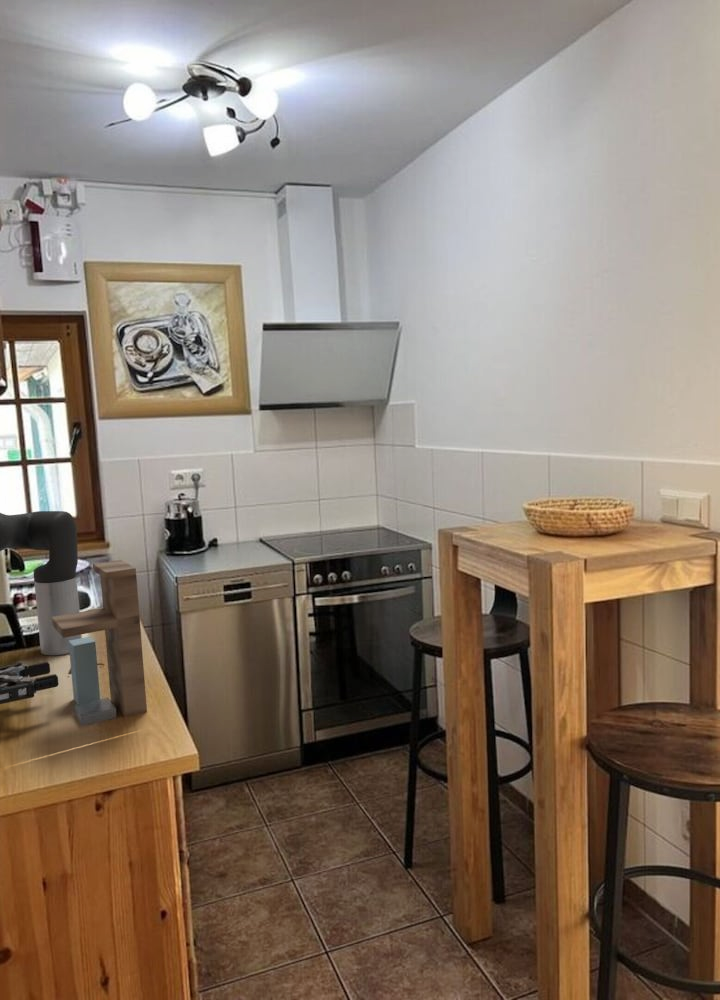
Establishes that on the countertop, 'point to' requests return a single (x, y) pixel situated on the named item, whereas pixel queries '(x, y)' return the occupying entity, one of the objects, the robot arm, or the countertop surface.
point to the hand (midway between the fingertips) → (53, 673)
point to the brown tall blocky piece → (115, 634)
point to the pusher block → (84, 670)
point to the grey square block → (95, 711)
